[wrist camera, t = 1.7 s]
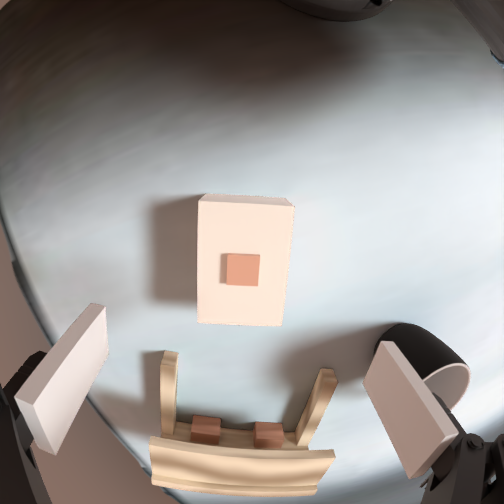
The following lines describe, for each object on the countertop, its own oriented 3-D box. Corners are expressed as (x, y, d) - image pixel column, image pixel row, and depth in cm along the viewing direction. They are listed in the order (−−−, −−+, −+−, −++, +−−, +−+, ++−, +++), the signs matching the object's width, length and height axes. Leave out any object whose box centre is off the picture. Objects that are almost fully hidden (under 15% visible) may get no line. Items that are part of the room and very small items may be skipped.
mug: (353, 339, 31) (387, 401, 22) (419, 299, 30) (469, 345, 21) (380, 397, 35) (407, 451, 25) (435, 362, 34) (472, 409, 24)
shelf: (164, 350, 31) (143, 416, 21) (332, 368, 32) (357, 431, 23) (164, 425, 35) (152, 484, 25) (301, 438, 36) (313, 495, 27)
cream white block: (205, 193, 26) (197, 202, 21) (284, 197, 27) (296, 207, 22) (203, 296, 29) (196, 325, 24) (275, 299, 30) (282, 329, 24)
